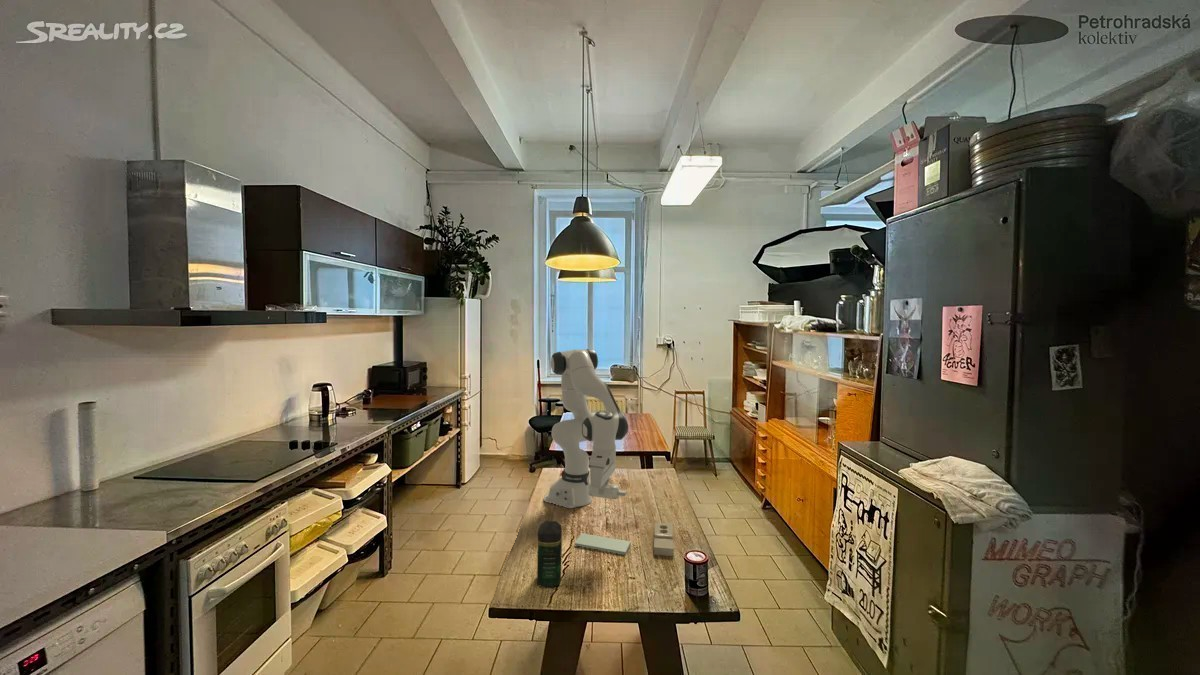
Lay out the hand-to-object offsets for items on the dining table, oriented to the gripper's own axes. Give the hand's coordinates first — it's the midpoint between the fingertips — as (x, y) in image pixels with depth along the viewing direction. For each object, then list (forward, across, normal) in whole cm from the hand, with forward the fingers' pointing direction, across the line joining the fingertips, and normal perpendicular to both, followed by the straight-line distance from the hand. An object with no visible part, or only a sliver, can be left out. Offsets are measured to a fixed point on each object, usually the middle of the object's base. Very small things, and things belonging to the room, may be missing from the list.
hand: (603, 491), depth 169 cm
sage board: (+21, 0, 0) cm, 21 cm away
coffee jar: (+21, +27, -10) cm, 36 cm away
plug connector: (+2, 0, +1) cm, 2 cm away
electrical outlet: (+22, -10, +22) cm, 32 cm away
